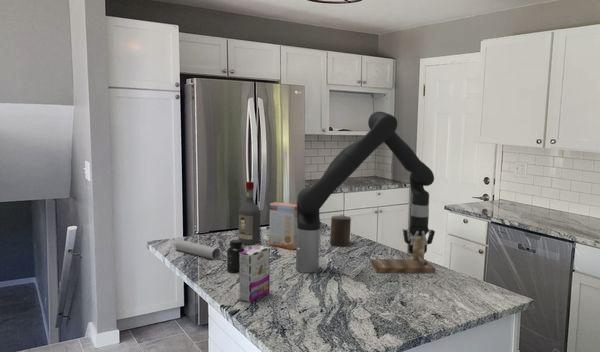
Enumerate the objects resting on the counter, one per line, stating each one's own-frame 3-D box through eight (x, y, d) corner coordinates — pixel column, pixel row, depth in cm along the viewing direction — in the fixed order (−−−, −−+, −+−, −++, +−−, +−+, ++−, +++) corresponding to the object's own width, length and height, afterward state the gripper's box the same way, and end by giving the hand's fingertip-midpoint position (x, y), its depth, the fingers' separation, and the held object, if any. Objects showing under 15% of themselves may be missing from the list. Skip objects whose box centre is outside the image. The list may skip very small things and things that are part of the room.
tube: (171, 242, 211) (210, 252, 196) (180, 236, 214) (219, 245, 200) (174, 252, 212) (213, 262, 198) (183, 246, 216) (221, 256, 202)
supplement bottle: (223, 270, 186) (223, 240, 184) (236, 266, 191) (237, 237, 189) (234, 274, 181) (234, 244, 180) (247, 270, 186) (248, 241, 185)
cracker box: (299, 247, 222) (300, 204, 220) (292, 250, 217) (294, 206, 214) (275, 242, 229) (276, 201, 227) (268, 245, 224) (269, 202, 222)
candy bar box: (258, 290, 165) (259, 244, 163) (269, 293, 162) (270, 247, 160) (238, 299, 155) (238, 251, 153) (249, 303, 153) (250, 254, 151)
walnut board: (377, 272, 187) (377, 267, 187) (370, 263, 199) (370, 259, 199) (435, 272, 189) (435, 267, 189) (425, 264, 201) (425, 259, 201)
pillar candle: (340, 247, 223) (341, 217, 222) (325, 243, 231) (327, 213, 229) (353, 245, 230) (355, 215, 228) (339, 240, 237) (341, 212, 235)
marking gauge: (419, 270, 191) (421, 241, 190) (410, 261, 204) (411, 234, 203) (431, 270, 192) (433, 241, 190) (421, 261, 204) (422, 234, 203)
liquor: (248, 239, 235) (249, 180, 232) (262, 242, 230) (263, 182, 226) (235, 242, 228) (236, 182, 224) (249, 246, 222) (250, 184, 219)
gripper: (406, 216, 196) (403, 255, 198) (439, 216, 197) (436, 255, 199) (400, 212, 203) (398, 250, 205) (432, 213, 205) (430, 250, 207)
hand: (417, 252), depth 202 cm, fingers closed on marking gauge, 5 cm apart
